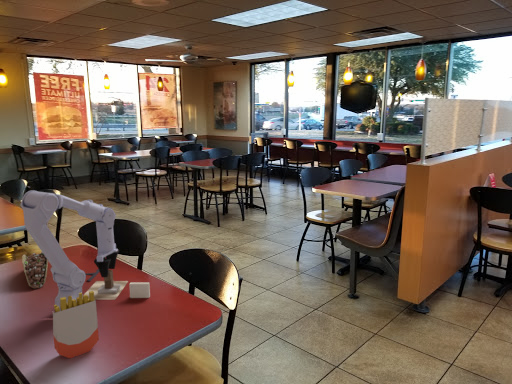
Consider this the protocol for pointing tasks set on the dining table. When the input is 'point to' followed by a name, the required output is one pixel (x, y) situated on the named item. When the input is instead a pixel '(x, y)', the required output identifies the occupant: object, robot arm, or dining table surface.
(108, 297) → the board
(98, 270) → the bracket
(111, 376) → the dining table surface
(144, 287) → the tile
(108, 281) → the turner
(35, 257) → the taco
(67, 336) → the french fries container
